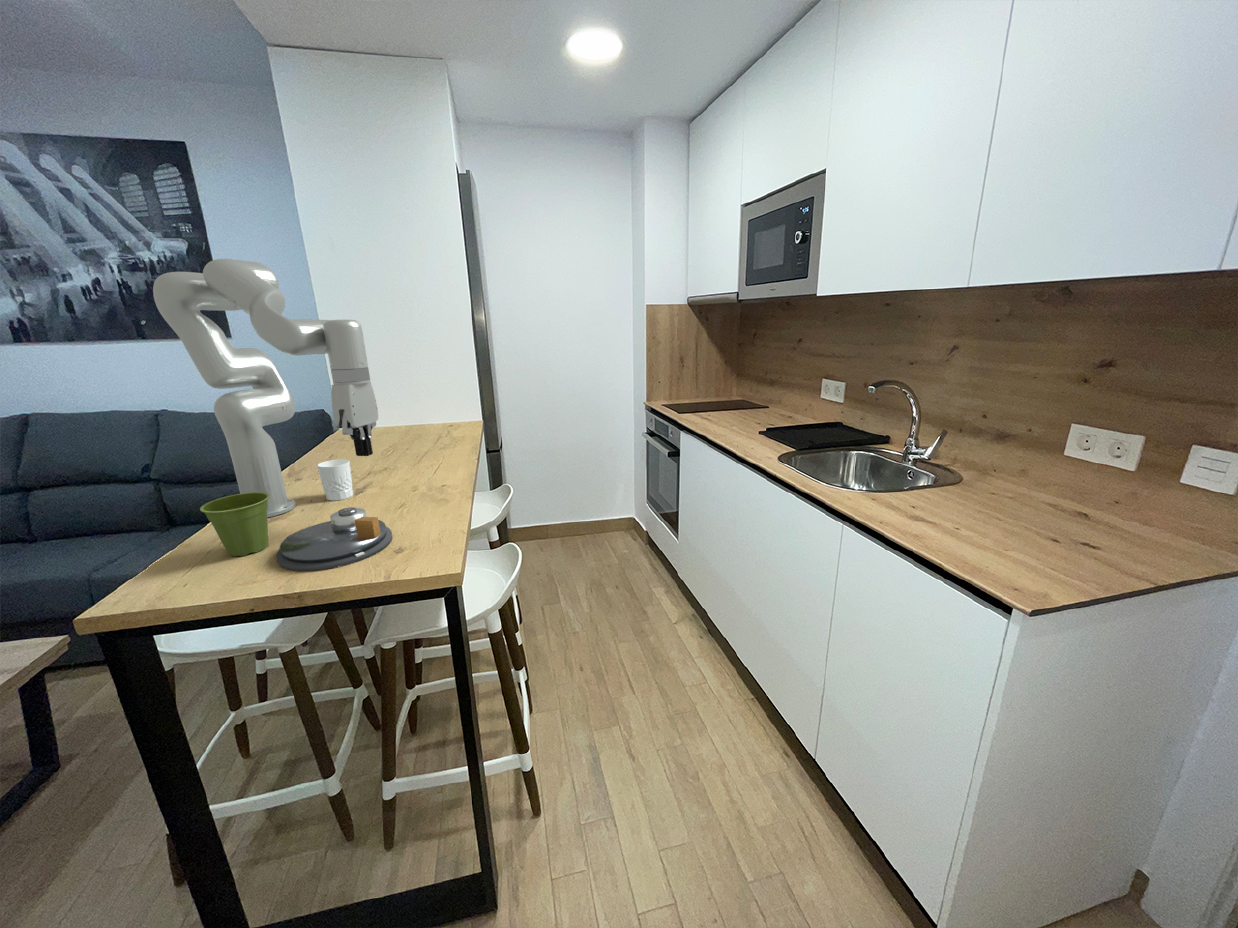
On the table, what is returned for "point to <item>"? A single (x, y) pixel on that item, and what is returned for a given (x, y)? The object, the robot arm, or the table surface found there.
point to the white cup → (336, 479)
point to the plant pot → (240, 521)
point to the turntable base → (338, 562)
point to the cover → (346, 519)
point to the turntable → (332, 541)
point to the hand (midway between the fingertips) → (364, 455)
